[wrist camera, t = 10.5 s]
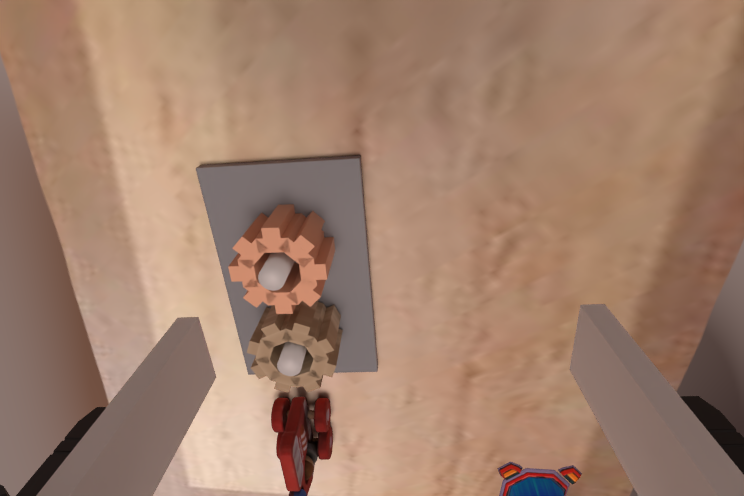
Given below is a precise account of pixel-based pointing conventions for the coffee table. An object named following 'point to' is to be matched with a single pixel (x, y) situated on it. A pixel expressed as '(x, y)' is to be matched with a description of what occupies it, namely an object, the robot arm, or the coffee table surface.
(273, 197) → the gear board
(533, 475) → the fantasy tower
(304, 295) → the loose gear
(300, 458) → the toy fire truck
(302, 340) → the gear
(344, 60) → the coffee table surface
